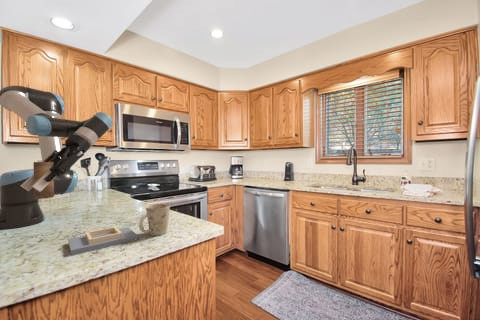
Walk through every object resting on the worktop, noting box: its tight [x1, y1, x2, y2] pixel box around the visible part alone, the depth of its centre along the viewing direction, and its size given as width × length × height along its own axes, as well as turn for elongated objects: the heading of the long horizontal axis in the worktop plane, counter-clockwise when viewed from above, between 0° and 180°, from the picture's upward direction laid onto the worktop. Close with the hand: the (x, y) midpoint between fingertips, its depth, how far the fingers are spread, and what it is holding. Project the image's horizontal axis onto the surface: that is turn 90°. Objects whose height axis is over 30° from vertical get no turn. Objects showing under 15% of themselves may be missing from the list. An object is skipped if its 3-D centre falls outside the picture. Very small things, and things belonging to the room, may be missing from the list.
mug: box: [138, 203, 171, 236], centre depth 79 cm, size 8×13×10 cm, turn 158°
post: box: [32, 161, 55, 200], centre depth 73 cm, size 5×5×12 cm
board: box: [67, 226, 139, 256], centre depth 72 cm, size 12×18×3 cm, turn 132°
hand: (30, 188), depth 69 cm, fingers closed on post, 5 cm apart
